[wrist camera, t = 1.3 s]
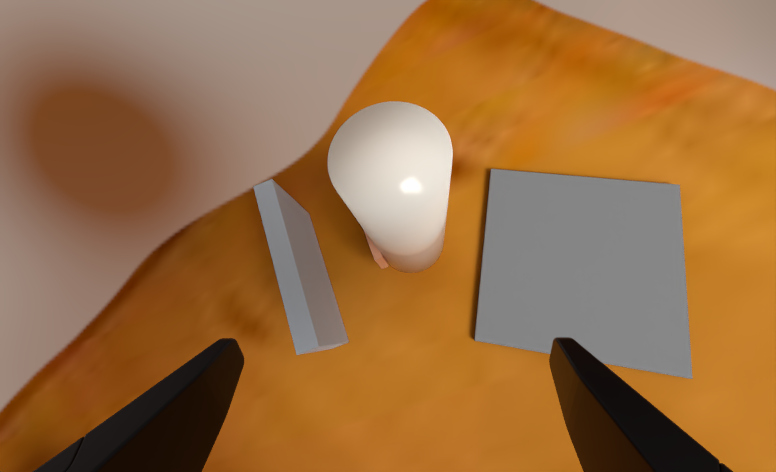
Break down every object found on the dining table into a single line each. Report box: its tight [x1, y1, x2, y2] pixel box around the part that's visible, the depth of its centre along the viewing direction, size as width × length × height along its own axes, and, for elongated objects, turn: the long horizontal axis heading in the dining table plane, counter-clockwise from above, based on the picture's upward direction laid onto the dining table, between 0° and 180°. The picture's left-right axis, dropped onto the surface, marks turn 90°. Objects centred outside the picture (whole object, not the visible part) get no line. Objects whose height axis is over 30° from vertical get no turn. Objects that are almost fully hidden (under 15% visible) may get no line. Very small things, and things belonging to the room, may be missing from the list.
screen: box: [253, 179, 349, 355], centre depth 21 cm, size 10×1×6 cm, turn 20°
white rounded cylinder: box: [328, 102, 453, 273], centre depth 18 cm, size 5×5×12 cm
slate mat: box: [474, 169, 692, 379], centre depth 21 cm, size 12×12×1 cm
